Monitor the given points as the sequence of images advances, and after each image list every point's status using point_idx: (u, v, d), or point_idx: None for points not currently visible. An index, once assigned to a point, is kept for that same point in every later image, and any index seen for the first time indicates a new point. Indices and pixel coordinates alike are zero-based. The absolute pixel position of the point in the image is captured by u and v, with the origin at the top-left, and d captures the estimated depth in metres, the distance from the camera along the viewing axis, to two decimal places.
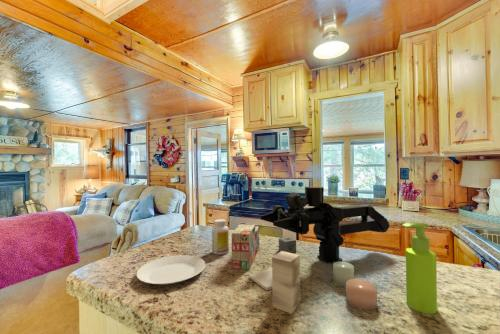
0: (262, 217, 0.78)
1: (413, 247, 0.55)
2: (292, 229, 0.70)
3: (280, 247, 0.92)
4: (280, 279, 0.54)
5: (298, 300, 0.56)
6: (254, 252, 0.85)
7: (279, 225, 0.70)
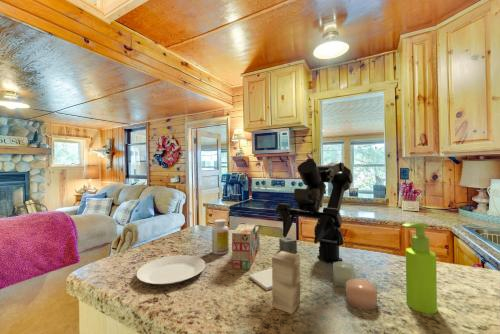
0: (285, 235, 0.66)
1: (413, 247, 0.55)
2: (328, 229, 0.63)
3: (281, 247, 0.92)
4: (280, 279, 0.54)
5: (298, 300, 0.56)
6: (254, 252, 0.85)
7: (319, 238, 0.61)
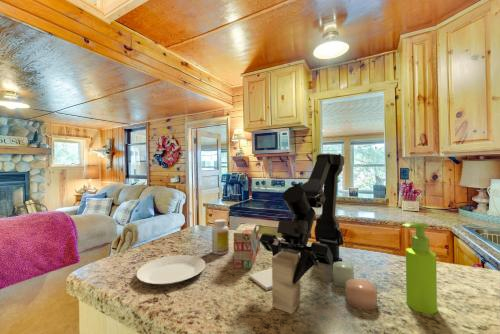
0: None
1: (413, 247, 0.55)
2: (309, 266, 0.57)
3: None
4: (280, 279, 0.54)
5: (298, 300, 0.56)
6: (255, 251, 0.86)
7: (299, 277, 0.54)
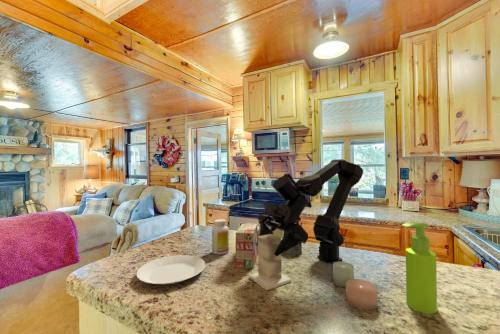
0: None
1: (413, 247, 0.55)
2: (293, 244, 0.65)
3: None
4: (262, 254, 0.68)
5: (278, 274, 0.67)
6: (256, 251, 0.86)
7: (281, 251, 0.65)
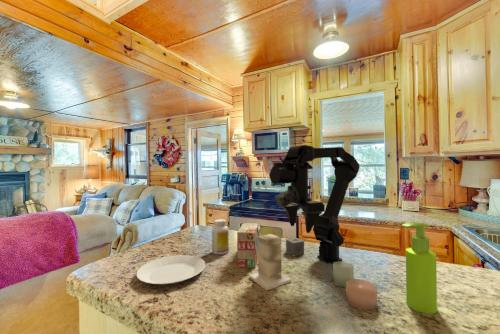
0: (292, 224, 0.81)
1: (413, 247, 0.55)
2: (316, 215, 0.71)
3: (288, 248, 0.90)
4: (262, 254, 0.68)
5: (278, 274, 0.67)
6: None
7: (310, 227, 0.72)
